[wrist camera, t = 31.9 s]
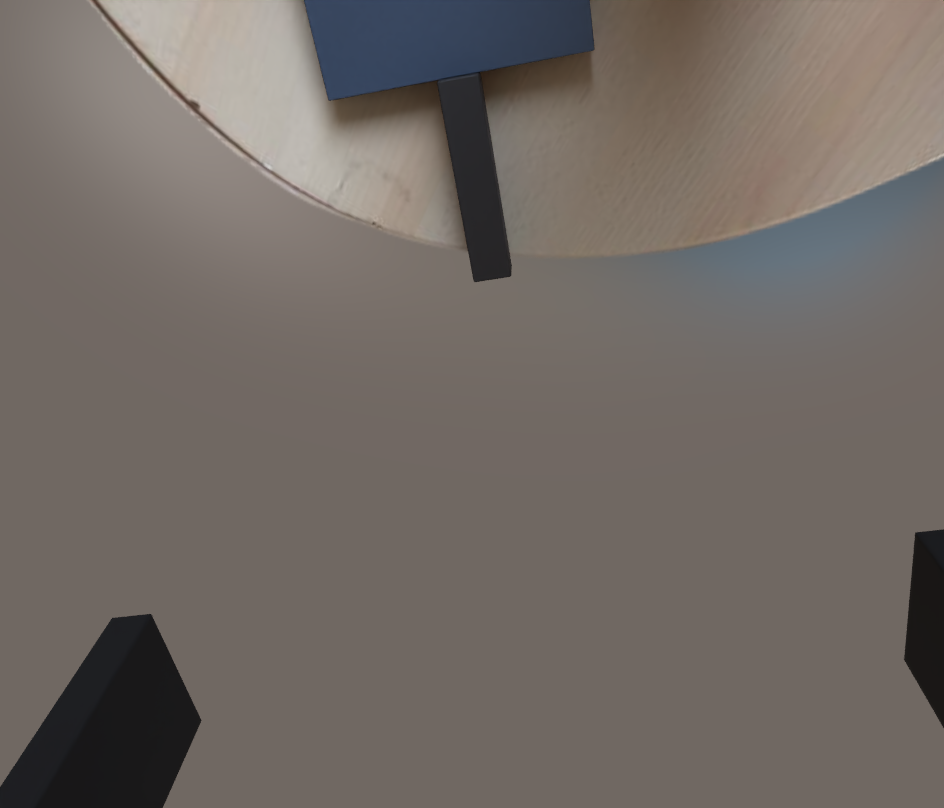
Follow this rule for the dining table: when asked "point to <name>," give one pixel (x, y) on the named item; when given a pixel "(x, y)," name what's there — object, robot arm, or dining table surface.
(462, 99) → the lid
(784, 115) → the dining table surface
